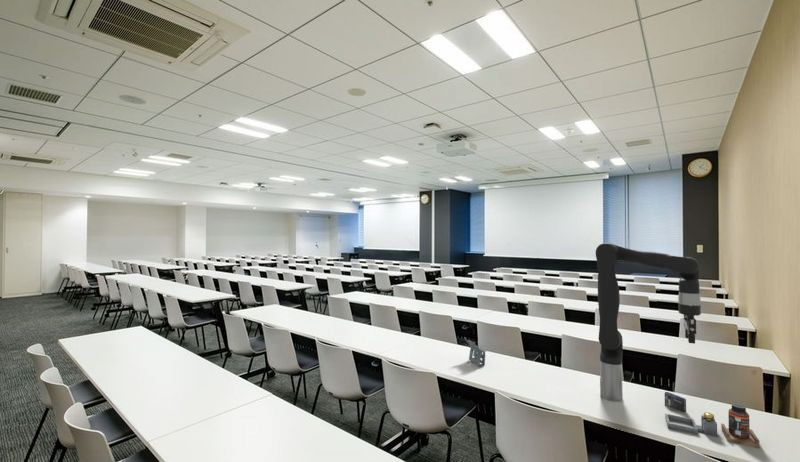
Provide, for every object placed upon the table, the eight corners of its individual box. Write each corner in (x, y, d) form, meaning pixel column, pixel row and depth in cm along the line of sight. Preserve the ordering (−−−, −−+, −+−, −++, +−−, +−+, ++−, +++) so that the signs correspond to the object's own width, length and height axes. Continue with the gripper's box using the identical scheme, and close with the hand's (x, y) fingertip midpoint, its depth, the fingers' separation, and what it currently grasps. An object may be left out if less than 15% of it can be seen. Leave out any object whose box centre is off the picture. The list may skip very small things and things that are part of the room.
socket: (667, 428, 146) (667, 415, 146) (665, 418, 154) (664, 406, 154) (718, 439, 138) (718, 426, 138) (713, 428, 146) (712, 415, 146)
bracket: (464, 360, 228) (464, 337, 228) (477, 359, 231) (477, 335, 231) (474, 367, 215) (474, 342, 216) (488, 365, 218) (488, 341, 219)
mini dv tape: (664, 405, 166) (664, 392, 167) (666, 404, 167) (666, 391, 167) (684, 413, 159) (683, 399, 159) (686, 412, 159) (686, 398, 159)
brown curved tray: (727, 440, 137) (726, 433, 137) (721, 430, 144) (721, 423, 144) (759, 448, 132) (759, 440, 132) (751, 436, 140) (751, 429, 140)
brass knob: (704, 430, 142) (704, 414, 142) (703, 427, 145) (702, 411, 145) (715, 432, 141) (714, 416, 141) (713, 429, 143) (713, 413, 144)
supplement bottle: (743, 440, 135) (742, 410, 135) (724, 432, 140) (724, 403, 141) (753, 438, 136) (753, 408, 137) (735, 430, 142) (734, 401, 142)
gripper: (676, 300, 164) (677, 335, 163) (680, 304, 151) (681, 343, 151) (697, 301, 160) (698, 338, 159) (703, 306, 147) (704, 346, 147)
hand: (690, 340), depth 155 cm, fingers open, 8 cm apart
